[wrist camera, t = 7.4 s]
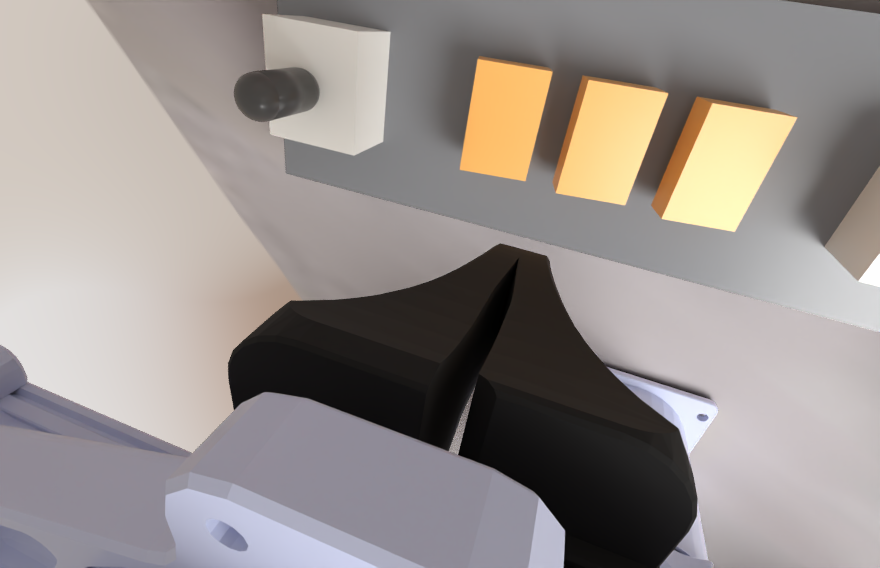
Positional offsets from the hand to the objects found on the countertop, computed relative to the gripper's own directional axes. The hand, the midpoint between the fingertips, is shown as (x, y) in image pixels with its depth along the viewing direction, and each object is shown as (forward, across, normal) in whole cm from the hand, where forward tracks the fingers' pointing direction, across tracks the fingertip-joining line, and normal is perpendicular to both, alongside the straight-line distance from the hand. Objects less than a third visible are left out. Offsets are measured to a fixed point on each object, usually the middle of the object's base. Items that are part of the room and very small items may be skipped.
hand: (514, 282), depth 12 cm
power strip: (+10, -1, -3) cm, 11 cm away
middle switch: (+7, -1, -3) cm, 8 cm away
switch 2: (+7, -5, -3) cm, 9 cm away
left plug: (+7, +9, -3) cm, 12 cm away
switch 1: (+7, +2, -3) cm, 8 cm away
